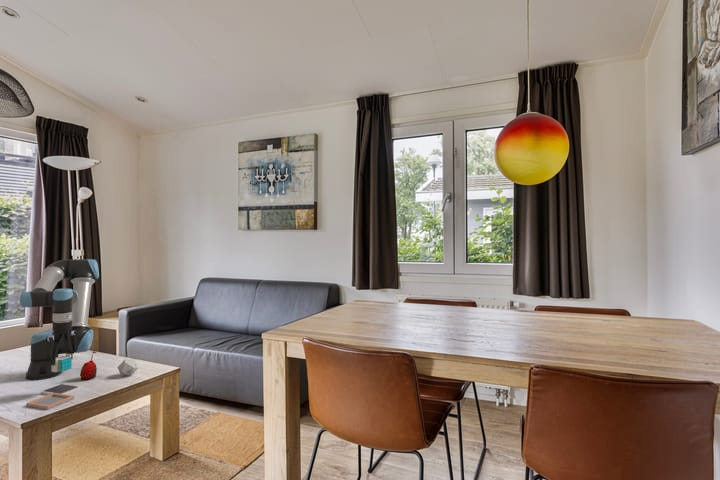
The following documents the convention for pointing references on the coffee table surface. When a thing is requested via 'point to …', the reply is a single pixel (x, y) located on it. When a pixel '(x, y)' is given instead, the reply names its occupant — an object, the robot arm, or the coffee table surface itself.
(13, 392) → the coffee table surface
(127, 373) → the die
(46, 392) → the ink pad
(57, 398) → the square tray
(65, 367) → the puzzle toy
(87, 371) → the red clay folk toy
